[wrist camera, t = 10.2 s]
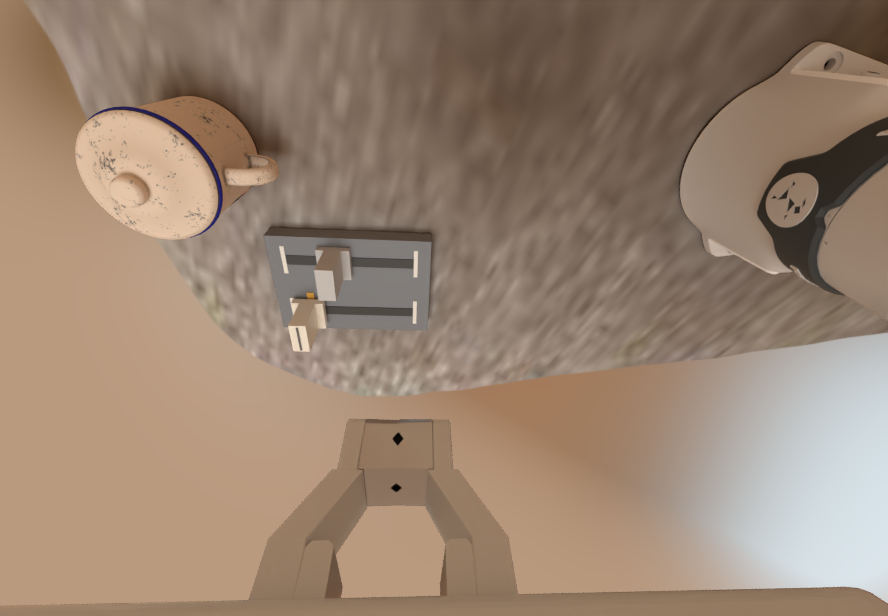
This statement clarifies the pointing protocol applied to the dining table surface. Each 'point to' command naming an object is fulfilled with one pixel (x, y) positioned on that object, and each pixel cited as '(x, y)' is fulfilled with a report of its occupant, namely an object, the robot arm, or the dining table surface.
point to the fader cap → (306, 322)
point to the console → (353, 275)
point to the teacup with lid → (169, 164)
